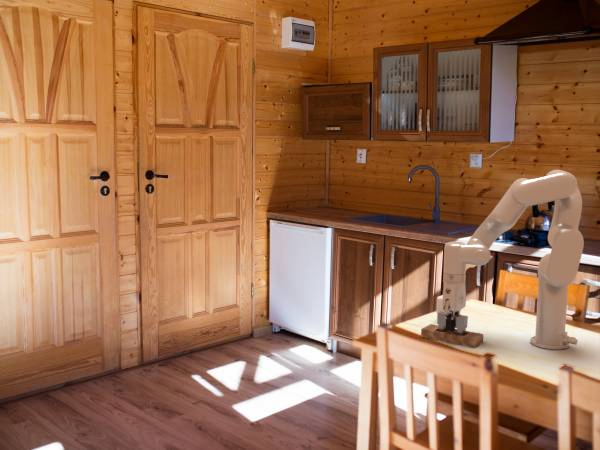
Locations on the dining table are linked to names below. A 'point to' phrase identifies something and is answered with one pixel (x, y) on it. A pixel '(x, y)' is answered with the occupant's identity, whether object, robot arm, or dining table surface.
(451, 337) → the wooden frame
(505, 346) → the dining table surface
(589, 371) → the dining table surface
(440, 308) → the security camera
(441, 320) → the grey rectangular block
